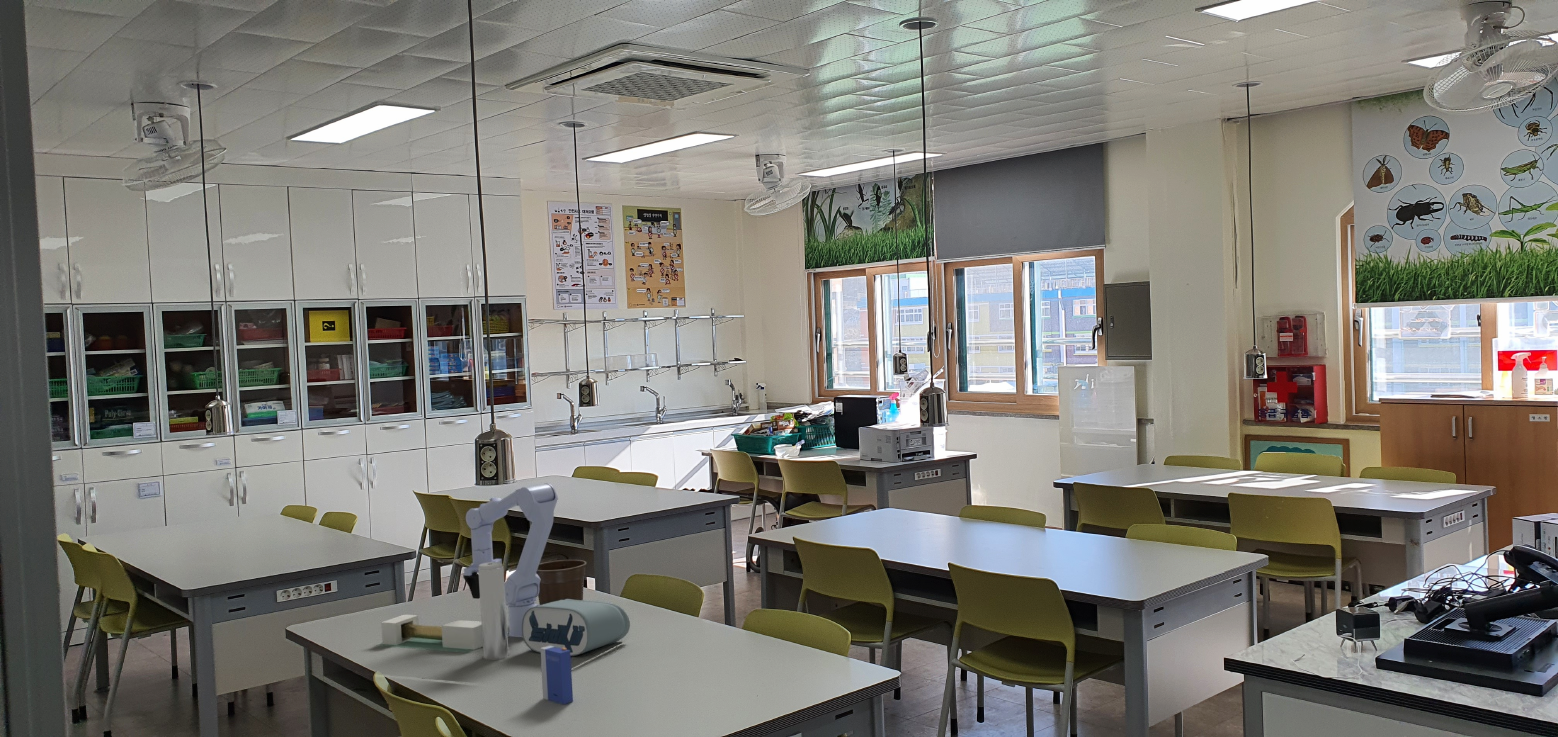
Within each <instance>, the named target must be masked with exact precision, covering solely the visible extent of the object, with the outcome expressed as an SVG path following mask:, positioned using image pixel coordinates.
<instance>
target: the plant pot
mask: <svg viewBox="0 0 1558 737" xmlns="http://www.w3.org/2000/svg"><path fill="white" fill-rule="evenodd" d="M586 566H587V561H585V560H581V559H560V560H559V559H558V560H553V561H547V562H542V563H539V566H538V569H537V572H536V574H537V575H538V576H539V577H540V579H541V581H540V584H539V589H540V590H539V594H538V596H537V597H538V603H539V604H538V605H543V604H547V603H551V602H555V601H560V600H565V599H572V600H582V601H584V584H585V583H584V582H585V580H584V579H585V574H586Z"/></svg>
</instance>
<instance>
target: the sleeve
mask: <svg viewBox="0 0 1558 737" xmlns="http://www.w3.org/2000/svg"><path fill="white" fill-rule="evenodd" d="M441 627H442V642H443V647H447V648H460V649H473V650H474V651H476V650H478V649H481V648H483V647H482V646H483V640H482V623H481V620H480V621H479V620H477V621H476V620H461V619H455V620H453V621H450V622H448V623H444V624H443V625H441ZM480 647H481V648H480ZM477 648H478V649H477ZM475 649H476V650H475Z"/></svg>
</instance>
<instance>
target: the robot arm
mask: <svg viewBox="0 0 1558 737" xmlns="http://www.w3.org/2000/svg"><path fill="white" fill-rule="evenodd" d="M558 500H559V498H558V495H557V492H556V489H555V487H554V486H553V485H552V484H551V483H548V482H546V483H543V484H537V485H533V486H523V487H521V488H518V489H515V490H514V491H513V492H512V493H510V494H508V495H506V496H505V497H503V498H501V497H496V496H494V497H490V498H489V501H487V502H486V503H481V504H480V505H479V507H476V508H473V507H472V508H469V510H468V511H467V512H466V514H465V521H466V524H467V527H469V528H470V536H471V538H470V539H471V553H472V554H471V555H472V563H470V566H468V567H465V568H463V575H462V578H463V579H464V581H465V582H466V583H467V586H468V587H469V591H470V593H471V597H472V599H477V600H479V599H480V589H479V571H478V568H479V565H480V564H483V563H488V562H500V563H501V565H503V564H502V563H503V562H502V558H495V559H494V553H493V535H492V532H493V530H494V523H495V522H496V521H497V520H500V519H501V518H503V517H505V516H506V515H507V514H508V513H509V510H510V509H512V508H515V507H519V509H520V510H521V512H522V513H523V515H524V517H525V518H526V520H527V521H529V522H531V525H530V528H529V531H528V534H527V537H526V540H525V543H524V545H523V548H522V552H521V555H520V558H519V561H518V564H517V567H516V569H515V570H514V572H512V573H511V574H510V575H508V576H507V578H506V581H505V582H504V584H505V602H506V607H507V610H508V625H509V626H508V627H509V629H508V630H509V632H507V636H508V637H514V638H515V637H517V638H523V636H522V619H523V616H524V614H525V612H526V611H527V610H528V609H530V608H533V607H536V606H540V604H537V603H535V602H536V601H537V597H538V594H539V590H540V589H539V584H540V581H541V579H540V577H539V576H538V575H537V574H536V572H537V569H538V566H539V564H540V562H541V559H542V557H543V554H544V552H545V549H546V545H547V542H548V539H549V536H550V533H551V530H552V527H553V524H554V515H555V508H556V505H557V502H558Z"/></svg>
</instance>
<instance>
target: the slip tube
mask: <svg viewBox="0 0 1558 737" xmlns="http://www.w3.org/2000/svg"><path fill="white" fill-rule="evenodd" d="M401 635H402V638H420V639H433V640H442V626H437V625H425V624H424V625H423V624H419V625H410V624H401Z"/></svg>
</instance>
